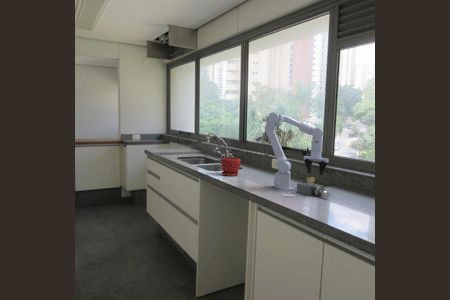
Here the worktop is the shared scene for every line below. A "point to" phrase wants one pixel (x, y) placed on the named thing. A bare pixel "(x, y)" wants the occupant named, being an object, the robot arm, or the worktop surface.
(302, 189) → the chuck
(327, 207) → the worktop surface
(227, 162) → the plant pot
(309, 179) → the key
